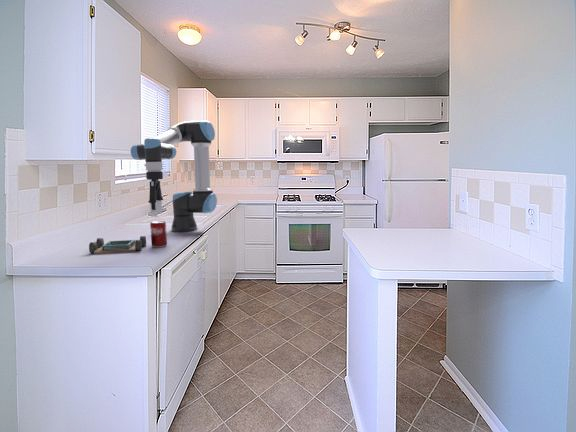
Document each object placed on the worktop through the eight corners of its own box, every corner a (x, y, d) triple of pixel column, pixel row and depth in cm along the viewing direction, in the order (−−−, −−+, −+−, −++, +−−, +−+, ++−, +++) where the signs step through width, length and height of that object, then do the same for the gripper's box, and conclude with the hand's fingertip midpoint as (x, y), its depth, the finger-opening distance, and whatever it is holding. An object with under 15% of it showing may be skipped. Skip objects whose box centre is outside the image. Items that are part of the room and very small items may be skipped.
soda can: (160, 244, 198) (158, 220, 197) (170, 245, 194) (168, 221, 193) (148, 246, 192) (146, 222, 190) (158, 248, 188) (157, 223, 187)
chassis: (100, 247, 194) (99, 237, 193) (146, 244, 197) (146, 235, 196) (89, 254, 178) (88, 243, 177) (139, 251, 181) (138, 241, 181)
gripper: (151, 171, 200) (153, 212, 203) (140, 171, 175) (143, 218, 178) (166, 170, 201) (168, 212, 204) (157, 171, 177) (160, 217, 179)
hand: (157, 215), depth 191 cm, fingers open, 13 cm apart
